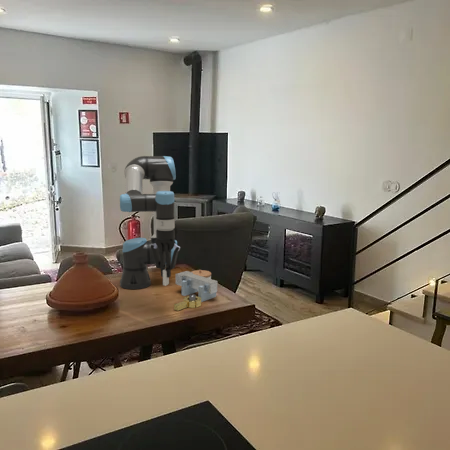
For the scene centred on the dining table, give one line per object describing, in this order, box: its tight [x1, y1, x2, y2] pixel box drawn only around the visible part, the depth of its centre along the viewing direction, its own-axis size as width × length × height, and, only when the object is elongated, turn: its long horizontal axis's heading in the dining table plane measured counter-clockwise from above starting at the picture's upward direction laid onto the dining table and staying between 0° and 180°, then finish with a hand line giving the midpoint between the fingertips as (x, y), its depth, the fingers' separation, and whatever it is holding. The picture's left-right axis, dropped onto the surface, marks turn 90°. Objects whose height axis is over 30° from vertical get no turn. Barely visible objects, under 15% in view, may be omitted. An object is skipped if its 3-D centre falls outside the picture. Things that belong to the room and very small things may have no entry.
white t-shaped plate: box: [175, 270, 218, 294], centre depth 202 cm, size 21×7×5 cm, turn 48°
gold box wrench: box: [173, 295, 202, 311], centre depth 189 cm, size 13×8×3 cm, turn 138°
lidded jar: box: [191, 269, 212, 279], centre depth 216 cm, size 11×11×9 cm
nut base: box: [188, 293, 197, 301], centre depth 191 cm, size 9×9×6 cm
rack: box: [181, 280, 217, 303], centre depth 202 cm, size 15×10×8 cm, turn 48°
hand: (165, 284), depth 184 cm, fingers closed
